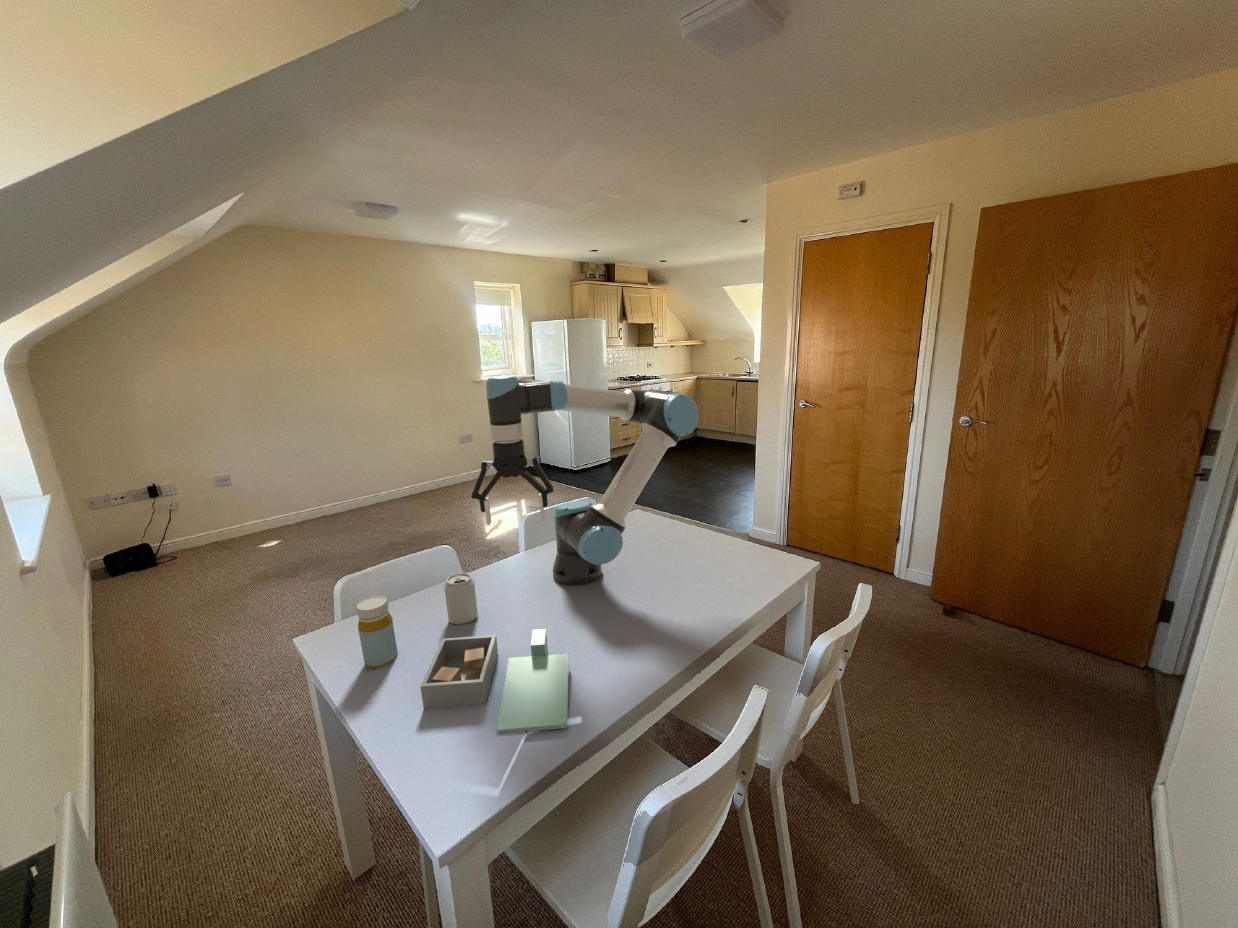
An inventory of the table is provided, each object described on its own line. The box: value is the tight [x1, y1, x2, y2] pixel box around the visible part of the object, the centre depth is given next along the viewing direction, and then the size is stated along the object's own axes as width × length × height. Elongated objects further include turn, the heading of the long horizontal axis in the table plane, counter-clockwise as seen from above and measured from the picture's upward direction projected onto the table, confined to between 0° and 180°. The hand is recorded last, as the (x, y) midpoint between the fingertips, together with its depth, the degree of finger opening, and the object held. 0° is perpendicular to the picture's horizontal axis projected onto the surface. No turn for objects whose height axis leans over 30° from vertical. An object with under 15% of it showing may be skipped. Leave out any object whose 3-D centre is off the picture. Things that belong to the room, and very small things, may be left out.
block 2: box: [464, 647, 485, 678], centre depth 108 cm, size 4×4×4 cm
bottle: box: [356, 595, 399, 671], centre depth 112 cm, size 7×7×15 cm
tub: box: [419, 634, 499, 710], centre depth 105 cm, size 12×16×6 cm
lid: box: [495, 628, 570, 734], centre depth 102 cm, size 13×23×7 cm, turn 4°
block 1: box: [432, 667, 461, 683], centre depth 102 cm, size 4×4×4 cm
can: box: [443, 572, 479, 626], centre depth 129 cm, size 8×8×12 cm
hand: (516, 521), depth 126 cm, fingers open, 13 cm apart
